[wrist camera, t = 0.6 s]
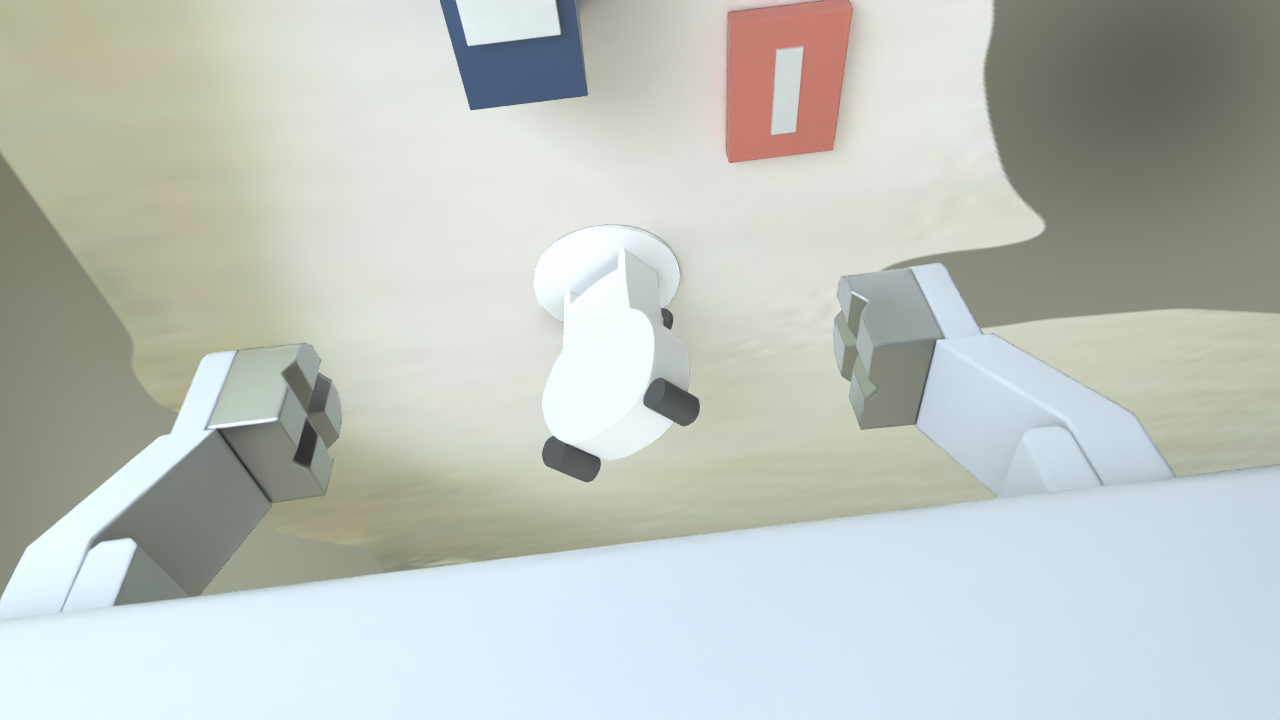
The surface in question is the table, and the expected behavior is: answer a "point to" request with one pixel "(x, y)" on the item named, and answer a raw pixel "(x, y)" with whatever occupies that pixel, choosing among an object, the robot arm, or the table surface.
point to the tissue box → (517, 50)
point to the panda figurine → (611, 347)
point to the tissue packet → (785, 78)
